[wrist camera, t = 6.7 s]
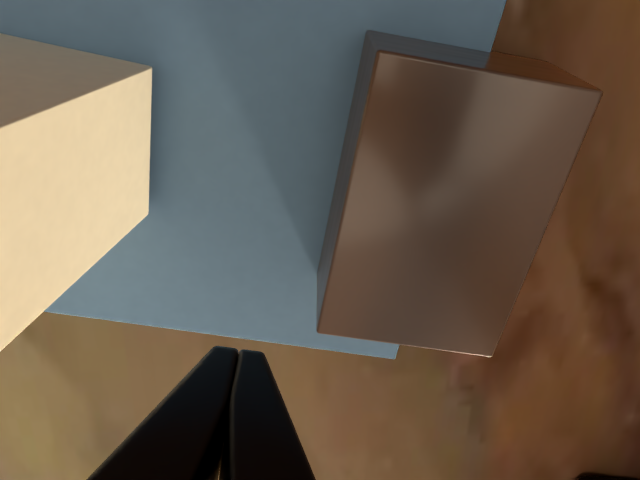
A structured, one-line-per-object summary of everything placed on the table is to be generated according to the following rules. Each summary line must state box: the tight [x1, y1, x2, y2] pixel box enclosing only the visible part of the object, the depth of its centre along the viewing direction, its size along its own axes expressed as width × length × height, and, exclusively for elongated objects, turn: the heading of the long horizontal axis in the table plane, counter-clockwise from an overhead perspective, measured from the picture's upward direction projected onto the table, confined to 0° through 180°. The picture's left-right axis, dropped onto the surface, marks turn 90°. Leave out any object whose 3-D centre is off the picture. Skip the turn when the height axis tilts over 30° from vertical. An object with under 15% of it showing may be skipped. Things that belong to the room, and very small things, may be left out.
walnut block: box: [316, 30, 603, 357], centre depth 18 cm, size 6×9×4 cm, turn 170°
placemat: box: [0, 0, 506, 359], centre depth 18 cm, size 18×16×1 cm
